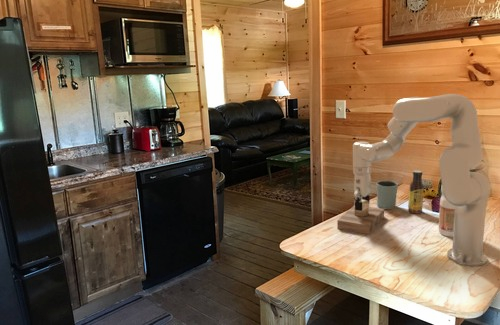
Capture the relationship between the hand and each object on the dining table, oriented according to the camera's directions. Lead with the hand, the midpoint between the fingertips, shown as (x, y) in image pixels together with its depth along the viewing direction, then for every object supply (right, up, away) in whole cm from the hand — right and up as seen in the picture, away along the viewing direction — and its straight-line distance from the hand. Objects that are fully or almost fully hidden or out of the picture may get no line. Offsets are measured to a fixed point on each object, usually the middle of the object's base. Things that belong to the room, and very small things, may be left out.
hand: (362, 206), depth 178 cm
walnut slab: (0, -7, +2) cm, 8 cm away
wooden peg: (0, -7, +2) cm, 7 cm away
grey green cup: (+18, -2, +21) cm, 28 cm away
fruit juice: (+33, -9, -14) cm, 37 cm away
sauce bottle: (+28, -4, +11) cm, 31 cm away
